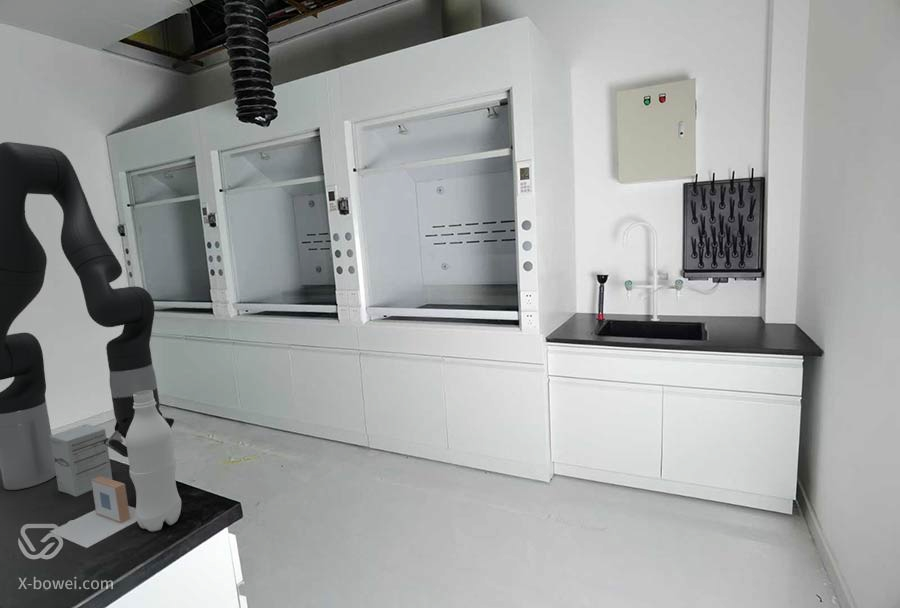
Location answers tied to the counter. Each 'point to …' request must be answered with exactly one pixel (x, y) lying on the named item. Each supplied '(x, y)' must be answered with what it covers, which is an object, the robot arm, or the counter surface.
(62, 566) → the counter surface
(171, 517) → the water bottle
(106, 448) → the supplement box
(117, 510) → the tile
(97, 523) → the mat
